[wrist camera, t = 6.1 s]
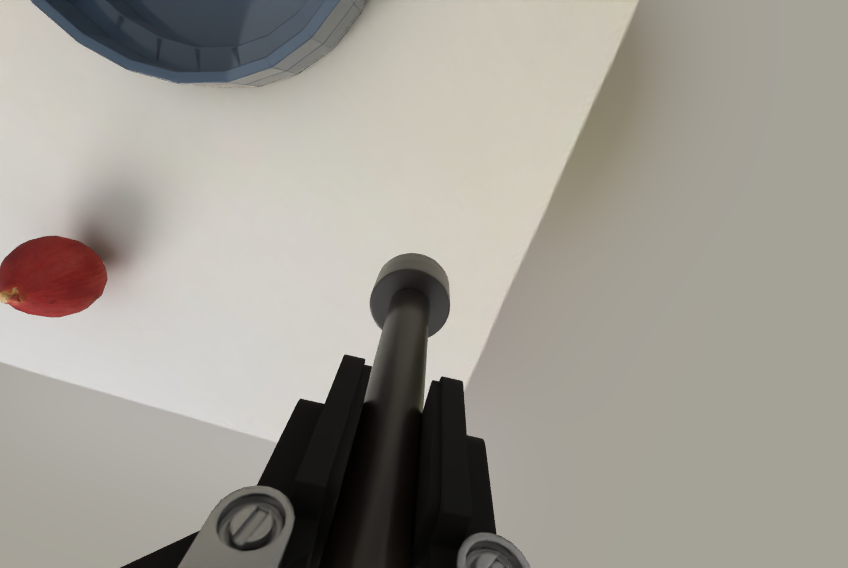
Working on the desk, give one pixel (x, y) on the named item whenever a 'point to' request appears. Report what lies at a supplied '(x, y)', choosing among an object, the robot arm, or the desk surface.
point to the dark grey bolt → (390, 422)
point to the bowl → (207, 36)
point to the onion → (52, 277)
